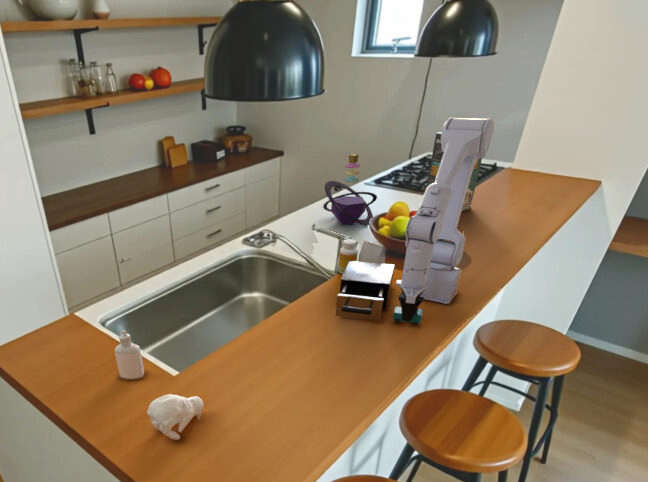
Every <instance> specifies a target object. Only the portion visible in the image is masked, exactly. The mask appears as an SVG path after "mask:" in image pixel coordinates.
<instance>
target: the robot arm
mask: <svg viewBox="0 0 648 482" xmlns="http://www.w3.org/2000/svg"><path fill="white" fill-rule="evenodd" d="M494 128H495V121H494V120H493V117H489V118H469V117H468V118H464V117H462V118H461V117H457V118H456V117H454V116H453V117H448V119H447V120H445V122H444V124H443V127H442V130H441V132H442V133H441V144H442V151H443V152H444V154H443V157H442V160H441V163H440V167H439V170H438V173H437V176H436V179H435V182H434V183H433V184H431V185H429V186H428V187H427V186H426V187H427V188H426V187H425V191H424V192H423V196H422V199H421V201H420V203H419V206H418V207H417V210H416V213H415V215H412V216H410V217H409V220H408V222H407V224H406V227H405V228H406V229H405V234H404V237H405V244H404V245H405V248H406V251H405V257H404V262H403V263H404V264H403V270H402V275H401V279H397V280H396V281H395V286H396V287H400V290H401V292H399V293H398V301H399V303H400V307H401V308H402V320H403V321H411V320H412V319H413V316H414V314H415V312H416V310H417V308H418V309H419V306H420V305H421V304H422V303H423V301H424V300H426V301H430V302H435V303H440V304H445V305H450V303H451V302H452V300H453V299H454V298H455V297H456V295H457V293H458V292H457V291H458V287H459V283H460V280H461V275H462V269H461V268H460V267H457V266H459V264H460V262H461V260H462V258H463V255H464V252H465V251H464V250H465V244H466V237H465V236H464V234H463V232H461V231H460V230H459V229H458V226H459V222H460V218H461V214H462V212H463V211H462V207H463V204H464V200H465V197H466V193H467V189H468V186H469V182H470V179H471V175H472V171H473V168H474V166H475V164H476V161H477V159H480V158H482V159H483V158H485V157H486V155H487V154H488V151H489V148H490V145H491V141H492V138H493V134H494ZM403 321H402V322H403Z"/></svg>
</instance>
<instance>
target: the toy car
mask: <svg viewBox="0 0 648 482" xmlns="http://www.w3.org/2000/svg"><path fill="white" fill-rule="evenodd" d="M422 317H423V309H422V308H421V309H420V308H419V307H418V308H417V310H416V312H415V314H414V316H413V319H412V320H411V321H403V320H402V308H401V306H395V307H394V311H393V317H392V321H393V323H395V324H401V322H403V323H404V322H405V323H411V324H412V326H414V327H416V326H419V324H421V323H422Z"/></svg>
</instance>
